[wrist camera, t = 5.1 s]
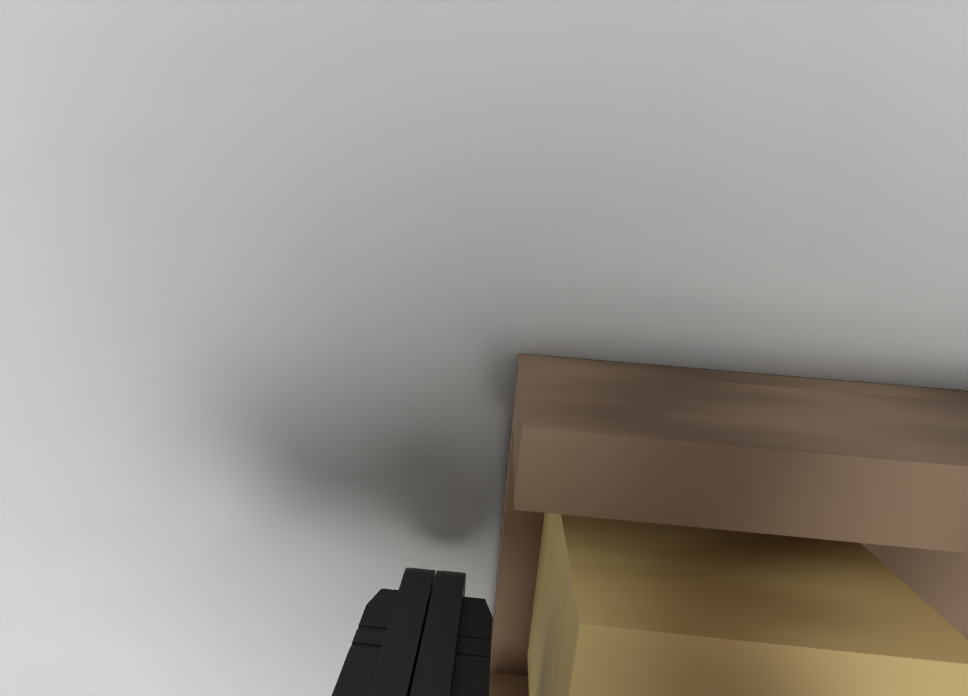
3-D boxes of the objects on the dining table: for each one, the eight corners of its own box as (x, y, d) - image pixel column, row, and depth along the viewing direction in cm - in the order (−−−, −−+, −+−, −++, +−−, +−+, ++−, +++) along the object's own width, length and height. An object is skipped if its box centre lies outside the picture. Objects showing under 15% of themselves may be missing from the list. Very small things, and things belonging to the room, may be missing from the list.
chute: (1325, 420, 11) (1838, 543, 7) (1125, 750, 14) (1395, 981, 10) (518, 353, 12) (522, 427, 8) (487, 680, 15) (478, 866, 11)
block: (791, 480, 11) (998, 667, 7) (735, 676, 13) (867, 941, 8) (551, 458, 12) (579, 623, 7) (527, 654, 13) (536, 899, 8)
